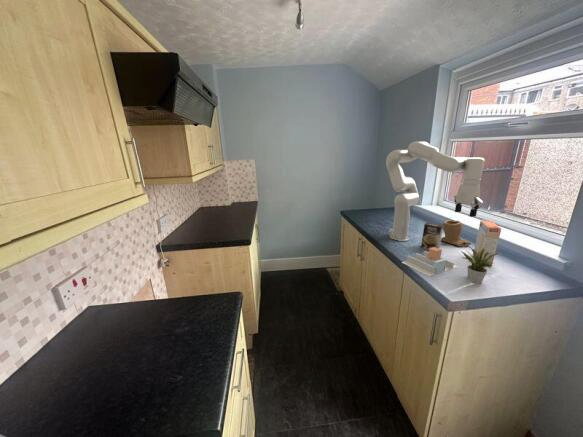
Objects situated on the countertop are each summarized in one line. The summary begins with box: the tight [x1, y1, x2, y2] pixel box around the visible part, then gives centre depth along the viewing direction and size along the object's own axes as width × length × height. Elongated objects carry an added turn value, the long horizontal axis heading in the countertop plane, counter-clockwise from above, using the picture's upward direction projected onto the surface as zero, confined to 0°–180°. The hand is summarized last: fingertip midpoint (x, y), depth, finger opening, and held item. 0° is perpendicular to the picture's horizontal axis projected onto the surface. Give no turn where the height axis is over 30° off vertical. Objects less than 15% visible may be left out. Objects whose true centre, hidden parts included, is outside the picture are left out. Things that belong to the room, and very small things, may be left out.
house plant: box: [460, 245, 503, 285], centre depth 105 cm, size 14×14×16 cm
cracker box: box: [472, 220, 502, 266], centre depth 124 cm, size 14×6×21 cm, turn 153°
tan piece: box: [441, 219, 472, 247], centre depth 148 cm, size 15×12×15 cm
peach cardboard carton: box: [428, 247, 442, 261], centre depth 121 cm, size 4×4×8 cm
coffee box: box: [420, 221, 444, 251], centre depth 139 cm, size 9×6×16 cm
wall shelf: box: [401, 250, 459, 277], centre depth 121 cm, size 16×22×7 cm
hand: (464, 214), depth 124 cm, fingers open, 9 cm apart
